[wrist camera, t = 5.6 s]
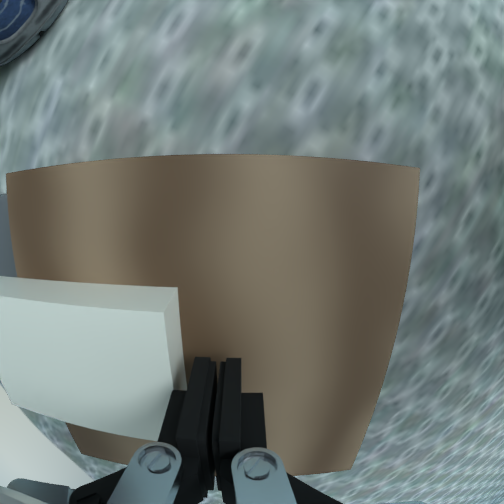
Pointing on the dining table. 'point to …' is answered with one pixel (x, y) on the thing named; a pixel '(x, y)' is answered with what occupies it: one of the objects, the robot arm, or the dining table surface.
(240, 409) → the robot arm
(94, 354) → the pale grey flat tile
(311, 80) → the dining table surface
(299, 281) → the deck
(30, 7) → the beverage bottle
